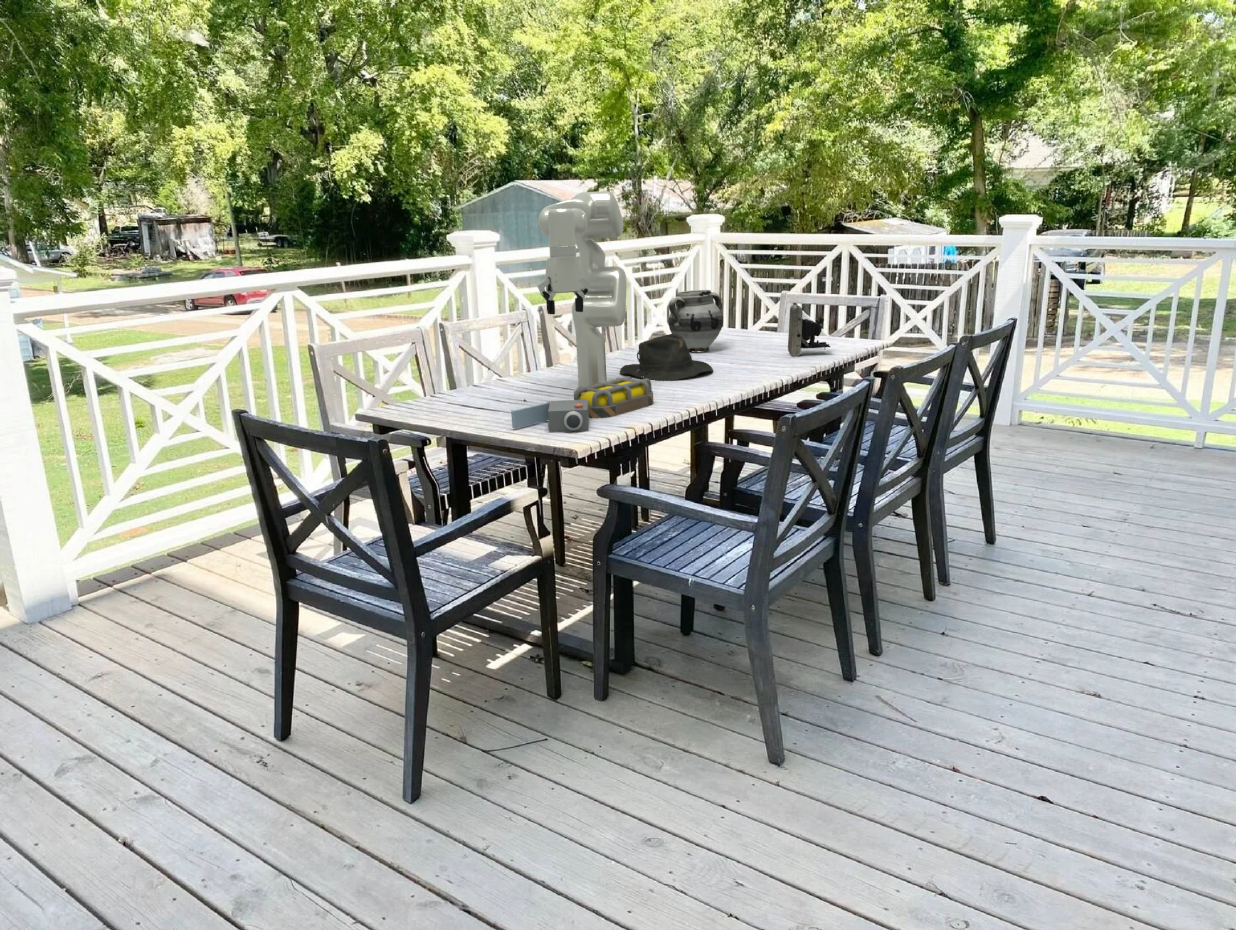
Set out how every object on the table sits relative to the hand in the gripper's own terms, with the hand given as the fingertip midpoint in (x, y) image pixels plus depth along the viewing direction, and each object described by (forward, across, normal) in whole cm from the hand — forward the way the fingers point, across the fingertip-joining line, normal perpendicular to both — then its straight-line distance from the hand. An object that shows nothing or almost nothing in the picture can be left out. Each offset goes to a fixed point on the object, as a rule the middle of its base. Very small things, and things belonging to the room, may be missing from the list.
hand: (565, 313), depth 271 cm
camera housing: (+31, +6, +9) cm, 33 cm away
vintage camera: (+26, -129, -25) cm, 134 cm away
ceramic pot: (+26, -105, -66) cm, 126 cm away
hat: (+28, -66, -37) cm, 81 cm away
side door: (+31, +14, +1) cm, 34 cm away
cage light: (+31, -17, 0) cm, 35 cm away
